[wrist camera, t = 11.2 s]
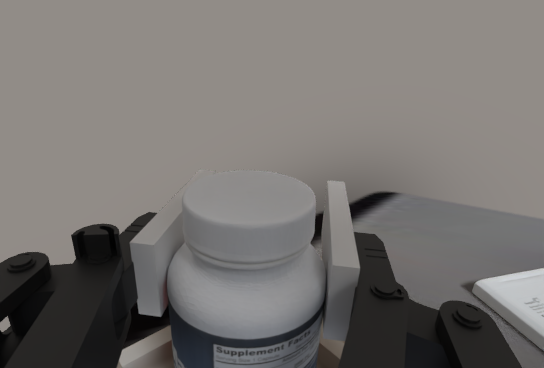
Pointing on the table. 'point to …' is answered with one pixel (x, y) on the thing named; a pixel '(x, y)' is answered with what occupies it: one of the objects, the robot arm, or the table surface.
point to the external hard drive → (517, 301)
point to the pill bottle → (247, 274)
